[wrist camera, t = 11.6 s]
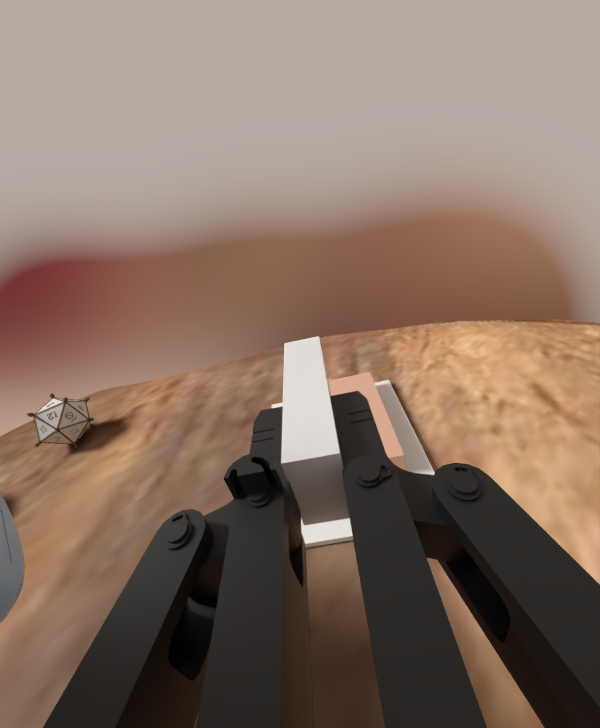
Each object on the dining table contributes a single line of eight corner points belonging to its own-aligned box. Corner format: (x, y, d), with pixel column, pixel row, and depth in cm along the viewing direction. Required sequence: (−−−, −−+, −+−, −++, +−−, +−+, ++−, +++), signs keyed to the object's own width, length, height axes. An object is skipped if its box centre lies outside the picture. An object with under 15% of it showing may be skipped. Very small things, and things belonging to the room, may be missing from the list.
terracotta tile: (406, 472, 31) (372, 386, 44) (404, 455, 29) (369, 372, 42) (287, 494, 32) (288, 404, 45) (280, 478, 31) (284, 390, 44)
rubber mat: (457, 522, 26) (457, 518, 26) (260, 555, 28) (259, 551, 27) (389, 383, 44) (388, 379, 44) (273, 408, 46) (272, 404, 46)
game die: (86, 451, 55) (63, 400, 56) (118, 429, 52) (93, 377, 53) (29, 470, 46) (2, 410, 47) (64, 446, 44) (35, 383, 45)
